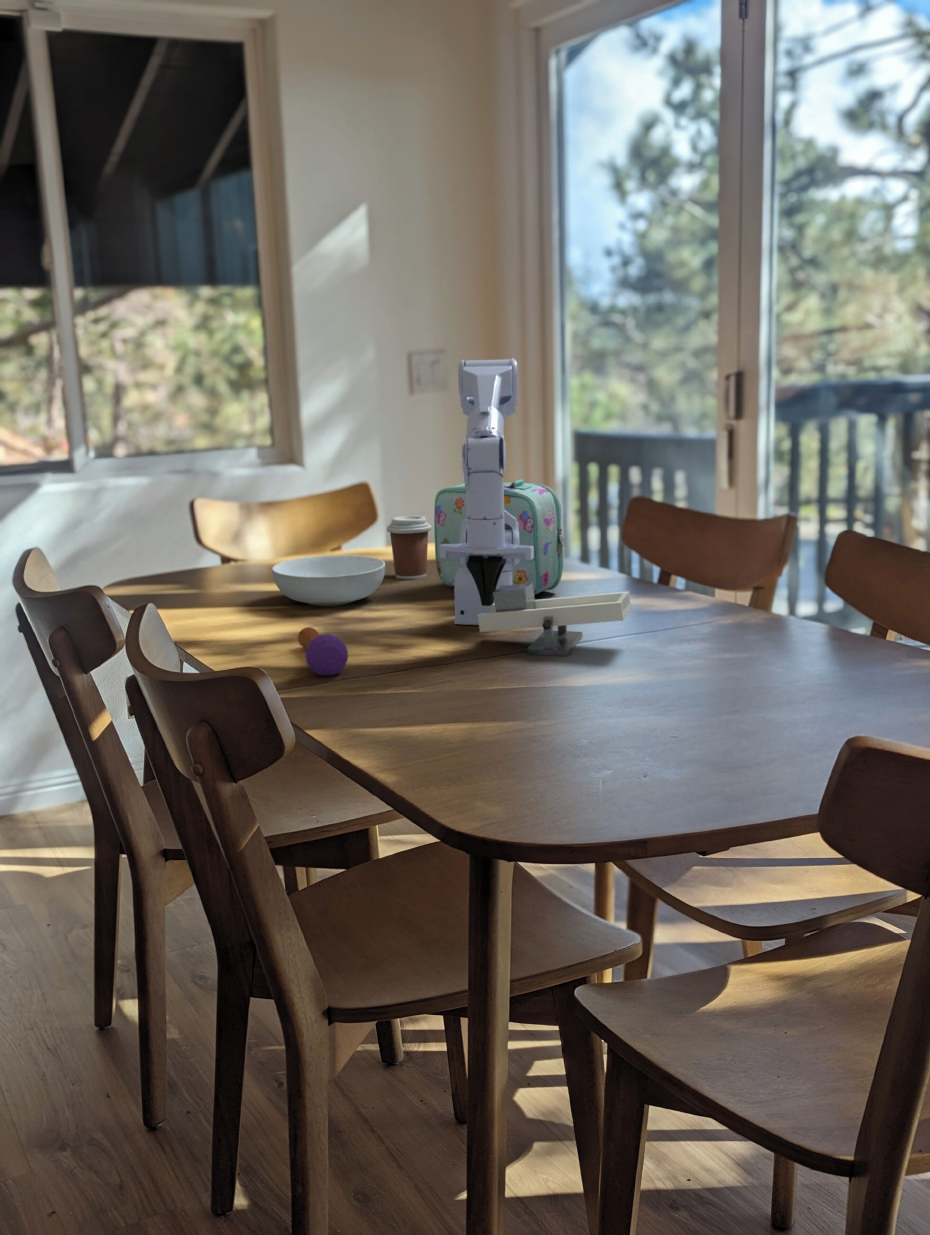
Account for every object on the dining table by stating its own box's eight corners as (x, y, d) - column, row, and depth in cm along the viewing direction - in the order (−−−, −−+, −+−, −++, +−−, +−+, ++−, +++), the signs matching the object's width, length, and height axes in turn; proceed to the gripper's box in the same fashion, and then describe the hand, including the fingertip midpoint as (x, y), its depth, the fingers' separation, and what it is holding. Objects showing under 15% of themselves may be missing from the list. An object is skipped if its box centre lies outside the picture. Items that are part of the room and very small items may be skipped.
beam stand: (527, 654, 170) (526, 618, 169) (545, 634, 181) (544, 601, 180) (566, 656, 168) (566, 619, 167) (582, 636, 179) (582, 602, 178)
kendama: (329, 620, 179) (353, 639, 160) (325, 658, 179) (348, 681, 160) (291, 616, 177) (311, 635, 158) (287, 654, 177) (306, 677, 158)
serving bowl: (252, 609, 206) (249, 572, 205) (309, 587, 225) (307, 553, 223) (354, 616, 198) (352, 577, 197) (405, 592, 217) (404, 557, 216)
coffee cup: (379, 578, 232) (377, 519, 229) (405, 570, 239) (402, 514, 236) (416, 582, 227) (414, 522, 224) (441, 574, 234) (439, 516, 232)
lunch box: (574, 593, 212) (574, 478, 207) (541, 603, 204) (540, 484, 199) (464, 579, 229) (461, 472, 224) (430, 587, 221) (426, 477, 216)
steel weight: (497, 620, 174) (493, 592, 173) (505, 613, 178) (501, 585, 178) (528, 618, 172) (524, 589, 171) (536, 611, 177) (532, 582, 176)
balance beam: (480, 632, 173) (477, 614, 173) (493, 620, 181) (491, 603, 180) (623, 620, 167) (621, 602, 166) (631, 608, 174) (629, 591, 174)
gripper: (431, 520, 172) (434, 608, 175) (525, 521, 167) (527, 611, 170) (446, 513, 178) (448, 598, 181) (536, 515, 174) (537, 602, 177)
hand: (487, 604), depth 176 cm, fingers closed
